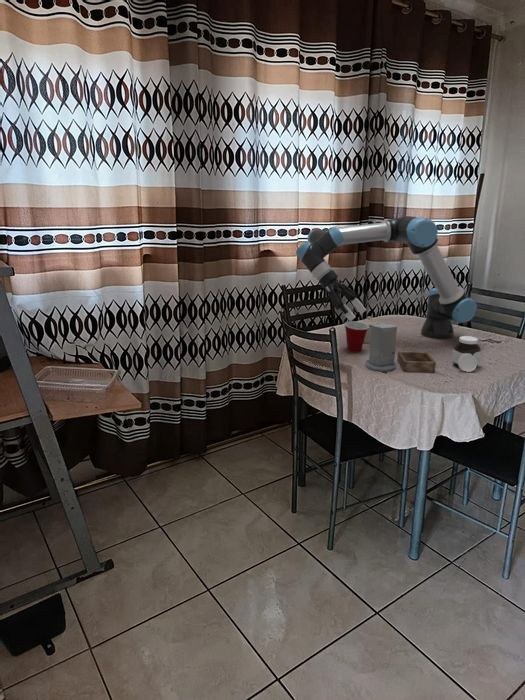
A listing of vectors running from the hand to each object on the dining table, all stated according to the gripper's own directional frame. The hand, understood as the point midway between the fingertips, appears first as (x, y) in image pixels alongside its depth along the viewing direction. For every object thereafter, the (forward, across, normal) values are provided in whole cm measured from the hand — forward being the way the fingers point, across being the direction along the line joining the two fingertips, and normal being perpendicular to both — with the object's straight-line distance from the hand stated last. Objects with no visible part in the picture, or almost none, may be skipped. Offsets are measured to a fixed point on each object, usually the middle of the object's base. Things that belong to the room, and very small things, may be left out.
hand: (358, 315), depth 196 cm
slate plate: (+21, 0, -6) cm, 22 cm away
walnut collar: (+30, -7, +2) cm, 31 cm away
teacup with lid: (+10, -31, -18) cm, 37 cm away
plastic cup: (+10, -15, -18) cm, 25 cm away
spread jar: (+43, -15, +15) cm, 48 cm away
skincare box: (+21, 0, -6) cm, 21 cm away
